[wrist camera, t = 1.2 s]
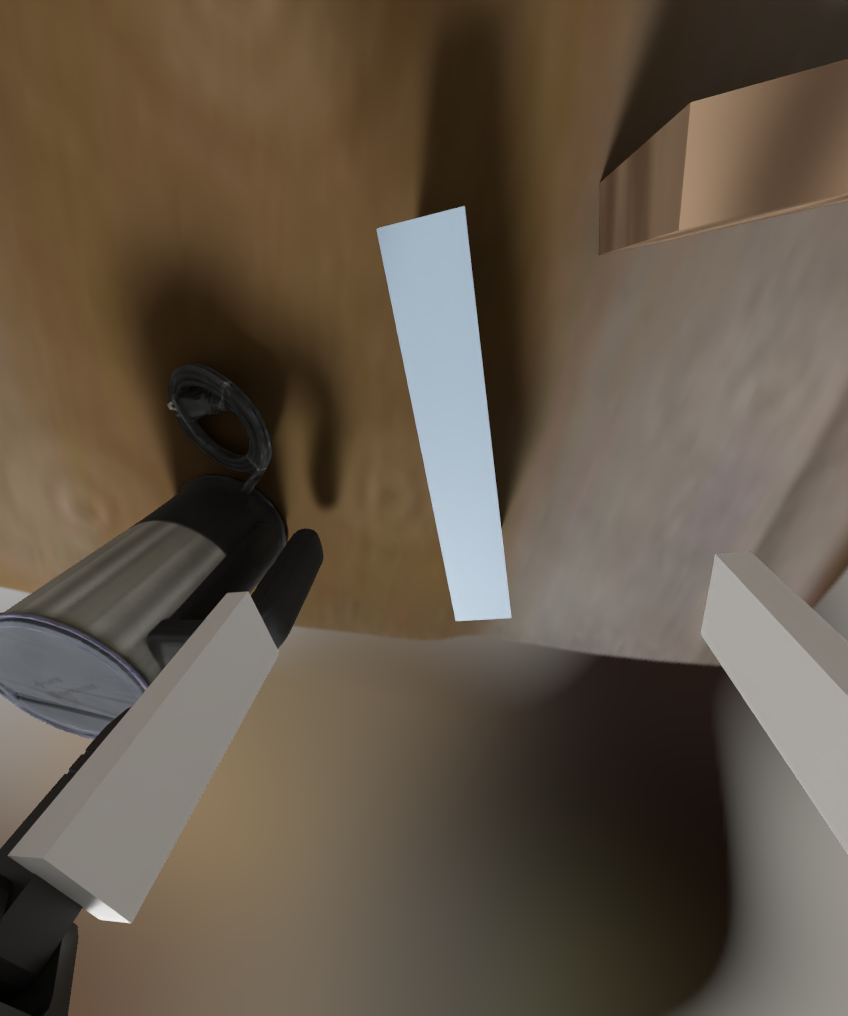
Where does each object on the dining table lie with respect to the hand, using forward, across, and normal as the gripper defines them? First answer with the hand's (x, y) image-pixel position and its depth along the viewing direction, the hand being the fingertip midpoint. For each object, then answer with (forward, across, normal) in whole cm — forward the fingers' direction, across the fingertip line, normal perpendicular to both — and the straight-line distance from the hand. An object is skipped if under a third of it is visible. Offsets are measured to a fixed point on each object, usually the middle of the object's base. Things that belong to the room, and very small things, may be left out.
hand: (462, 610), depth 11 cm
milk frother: (+16, -18, -1) cm, 25 cm away
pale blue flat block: (+16, 0, +2) cm, 16 cm away
